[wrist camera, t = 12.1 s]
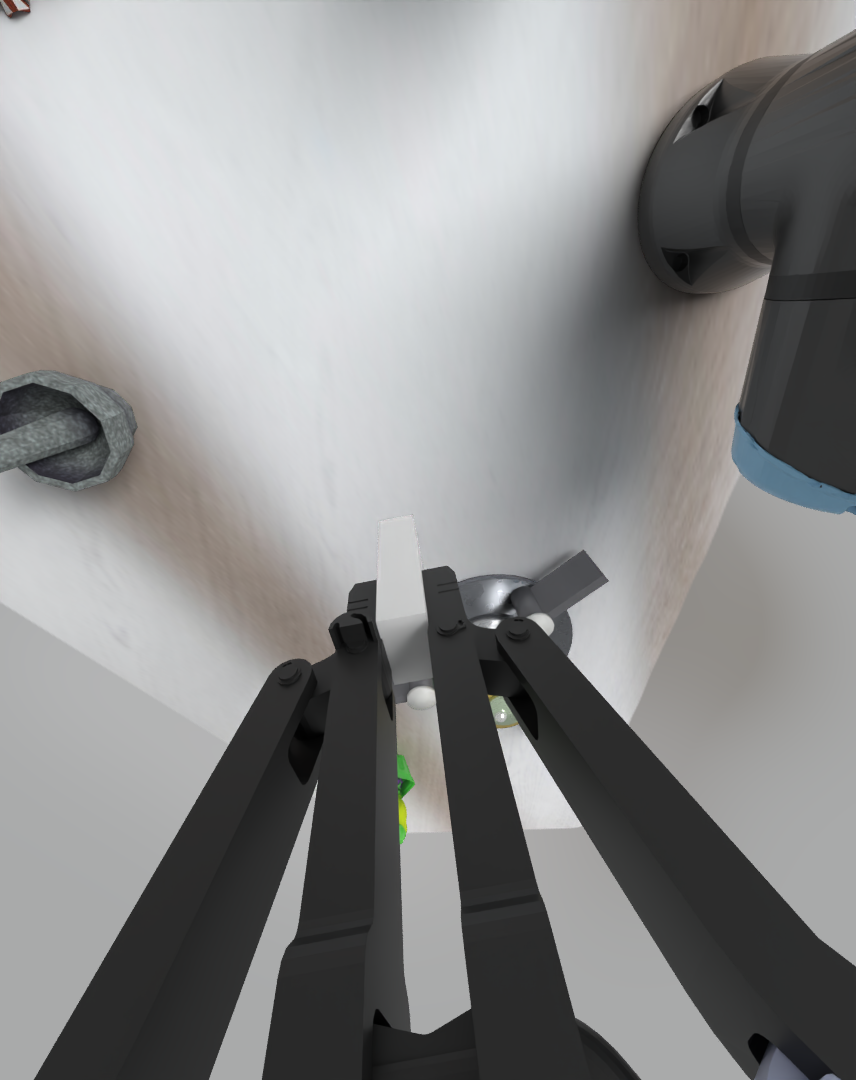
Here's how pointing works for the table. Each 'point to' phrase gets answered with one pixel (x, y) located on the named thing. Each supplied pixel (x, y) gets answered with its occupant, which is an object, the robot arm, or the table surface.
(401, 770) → the fruit basket
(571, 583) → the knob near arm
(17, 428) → the mortar and pestle
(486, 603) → the tribrach
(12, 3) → the decorative bird
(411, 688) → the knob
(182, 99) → the table surface
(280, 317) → the table surface
